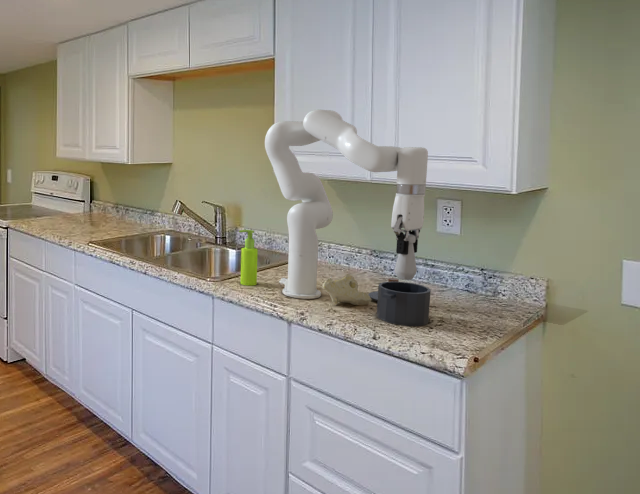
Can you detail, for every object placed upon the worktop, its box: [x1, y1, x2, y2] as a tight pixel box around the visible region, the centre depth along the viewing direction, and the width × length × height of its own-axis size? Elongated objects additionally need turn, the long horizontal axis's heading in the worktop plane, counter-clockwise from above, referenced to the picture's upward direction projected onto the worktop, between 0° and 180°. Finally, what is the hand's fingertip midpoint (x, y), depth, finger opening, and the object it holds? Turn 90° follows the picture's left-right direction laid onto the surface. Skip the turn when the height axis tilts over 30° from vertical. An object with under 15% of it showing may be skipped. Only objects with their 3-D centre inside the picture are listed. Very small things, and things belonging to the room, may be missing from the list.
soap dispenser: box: [238, 229, 259, 287], centre depth 202 cm, size 6×7×20 cm
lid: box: [367, 277, 400, 303], centre depth 181 cm, size 15×15×7 cm
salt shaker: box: [394, 233, 418, 281], centre depth 160 cm, size 6×6×13 cm
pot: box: [376, 281, 432, 327], centre depth 162 cm, size 14×19×10 cm
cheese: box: [321, 273, 372, 306], centre depth 177 cm, size 15×7×15 cm
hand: (406, 252), depth 160 cm, fingers closed on salt shaker, 4 cm apart
